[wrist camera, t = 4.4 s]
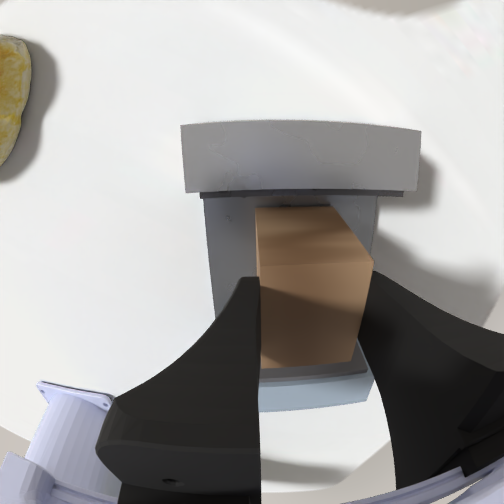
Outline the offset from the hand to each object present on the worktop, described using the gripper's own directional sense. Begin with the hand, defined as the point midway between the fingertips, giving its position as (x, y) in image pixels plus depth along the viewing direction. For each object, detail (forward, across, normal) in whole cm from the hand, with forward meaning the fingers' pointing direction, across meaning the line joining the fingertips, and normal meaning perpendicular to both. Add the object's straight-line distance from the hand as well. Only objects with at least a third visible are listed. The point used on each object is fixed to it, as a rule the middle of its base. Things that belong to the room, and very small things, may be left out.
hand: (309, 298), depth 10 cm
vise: (+4, 0, +1) cm, 5 cm away
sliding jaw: (+4, 0, +6) cm, 8 cm away
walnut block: (+4, 0, 0) cm, 4 cm away
